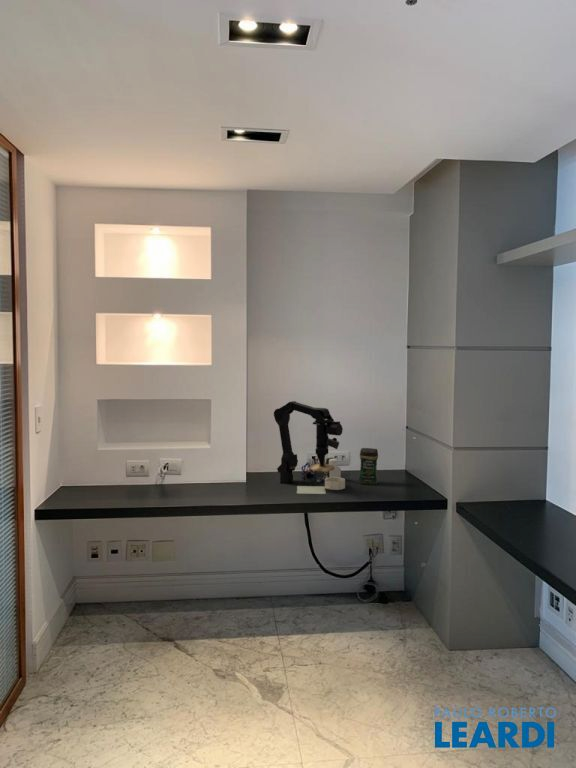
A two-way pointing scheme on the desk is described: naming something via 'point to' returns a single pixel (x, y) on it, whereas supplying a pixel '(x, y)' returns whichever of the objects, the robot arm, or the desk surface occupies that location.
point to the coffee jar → (368, 466)
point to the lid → (322, 467)
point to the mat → (311, 490)
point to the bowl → (335, 483)
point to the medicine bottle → (333, 473)
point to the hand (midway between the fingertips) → (322, 464)
